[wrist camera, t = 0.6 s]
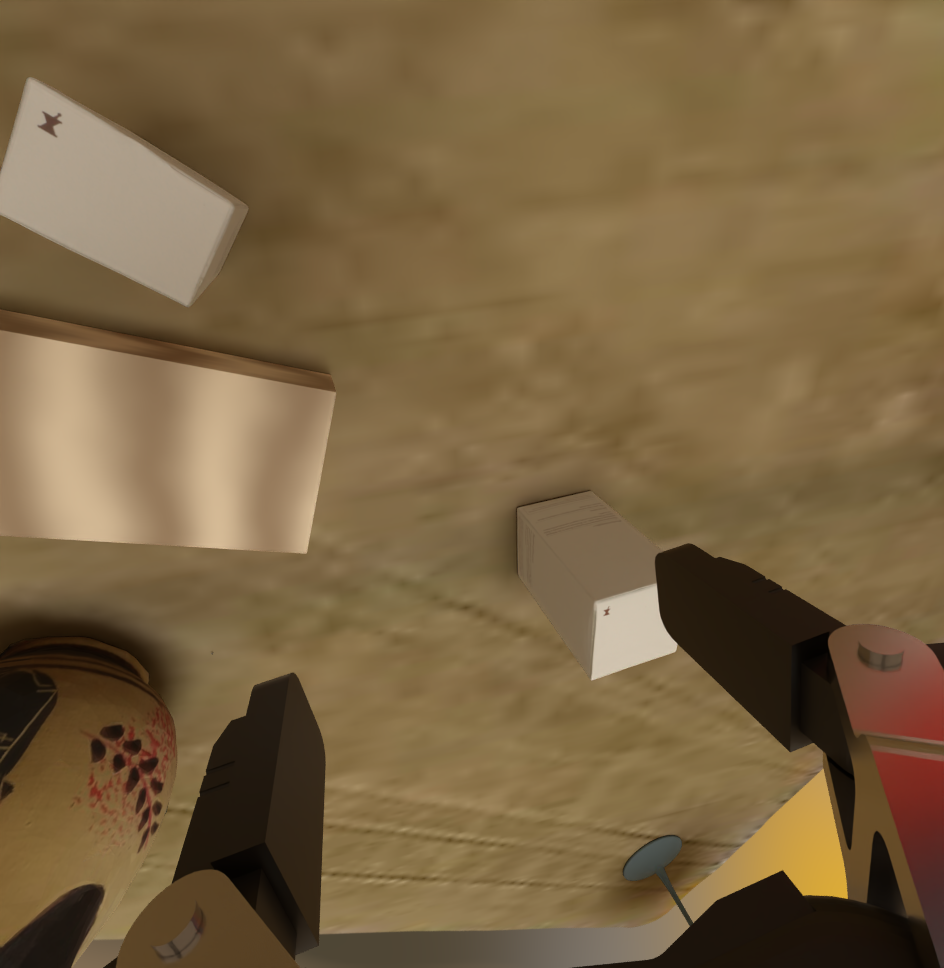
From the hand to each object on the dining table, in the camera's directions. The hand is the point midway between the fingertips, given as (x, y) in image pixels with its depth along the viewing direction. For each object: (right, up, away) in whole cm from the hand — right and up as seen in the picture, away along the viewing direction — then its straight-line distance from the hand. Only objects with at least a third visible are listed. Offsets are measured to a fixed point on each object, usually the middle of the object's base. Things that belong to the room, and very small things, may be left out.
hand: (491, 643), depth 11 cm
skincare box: (-16, +18, +16) cm, 29 cm away
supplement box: (+7, -1, +34) cm, 35 cm away
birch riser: (-19, +7, +20) cm, 29 cm away
